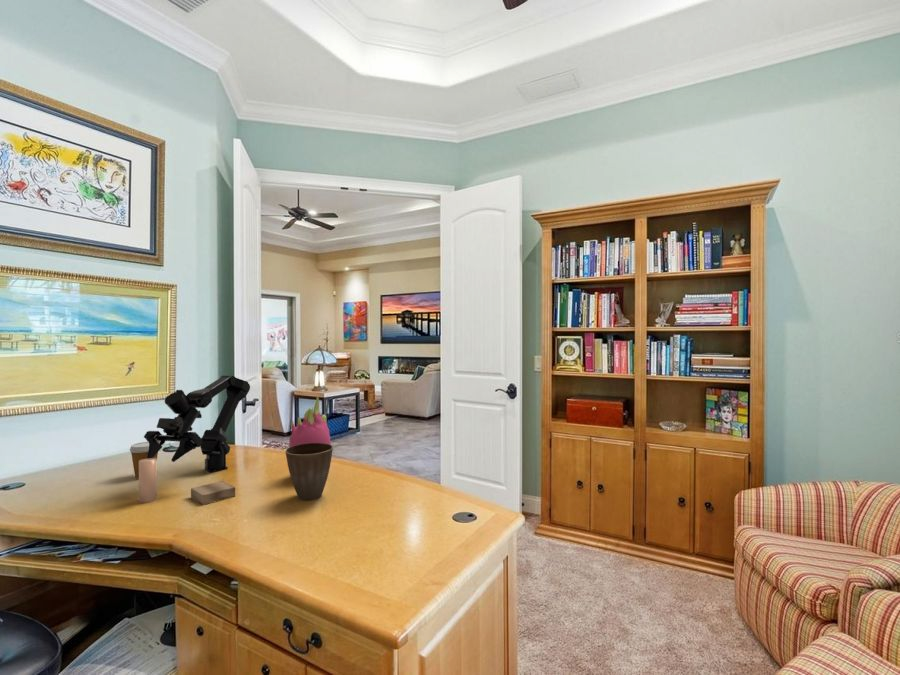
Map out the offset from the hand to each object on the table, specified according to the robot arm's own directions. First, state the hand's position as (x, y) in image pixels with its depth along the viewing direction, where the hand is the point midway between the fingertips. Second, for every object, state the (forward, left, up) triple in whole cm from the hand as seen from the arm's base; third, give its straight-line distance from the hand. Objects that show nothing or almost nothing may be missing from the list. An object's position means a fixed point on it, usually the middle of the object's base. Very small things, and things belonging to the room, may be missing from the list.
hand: (160, 460), depth 150 cm
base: (-11, +16, -11) cm, 22 cm away
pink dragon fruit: (-44, +21, -11) cm, 50 cm away
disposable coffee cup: (-3, -27, -11) cm, 30 cm away
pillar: (+4, +3, -11) cm, 12 cm away
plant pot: (-32, +40, -11) cm, 52 cm away
